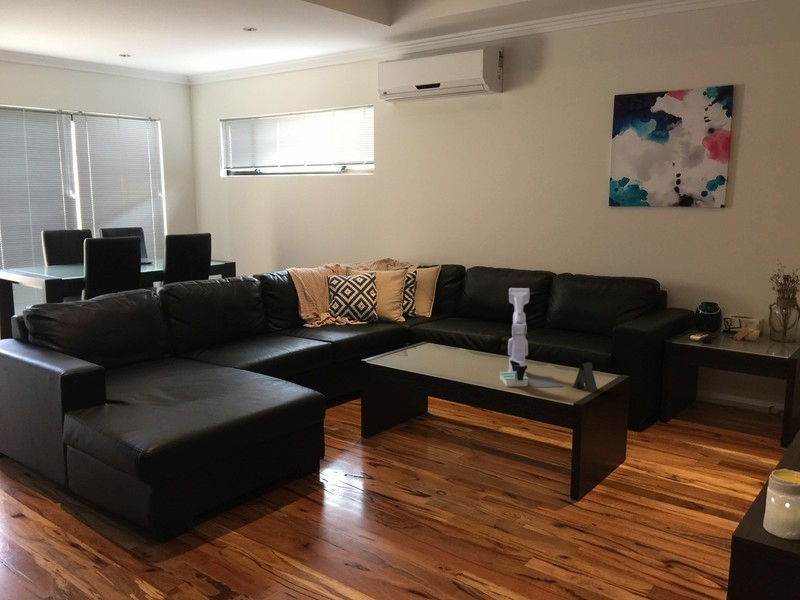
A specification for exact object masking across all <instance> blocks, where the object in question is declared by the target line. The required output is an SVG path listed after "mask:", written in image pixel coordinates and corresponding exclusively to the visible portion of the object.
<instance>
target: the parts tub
mask: <svg viewBox="0 0 800 600" xmlns="http://www.w3.org/2000/svg"><path fill="white" fill-rule="evenodd" d="M499 379H500V381H501V382H502V384H503V385H504V386H505V387H528V382H529V381H528V380H523V382H514V381H513V380H505V378H504V377H503V376H502V375H501V374H500V373H499Z"/></svg>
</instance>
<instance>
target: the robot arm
mask: <svg viewBox="0 0 800 600" xmlns="http://www.w3.org/2000/svg"><path fill="white" fill-rule="evenodd" d="M530 295H531V293H530V288H529V287H526V288H525V287H524V288H523V287H510V288H509V289H508V302H509V303H510V304H512V305H513V308H514V309H513V310H514V312H513V314H512V324H511V336H512V337H511V338H509V339H508V342H507V355H508V356H509V359H508V369H507V371H506V372H511V371H517V378H518V380H523V377H524V375H526V376H528V373H526V371H527V369H528V365H525V364H526V357H527V356H528V355H529V343H528V339H526V336H527V330H528V328H527V327H528V326H527V322H526V313H525V312H524V307H525V305H526V304H528V303H529V302H530Z"/></svg>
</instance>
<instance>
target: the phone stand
mask: <svg viewBox="0 0 800 600" xmlns="http://www.w3.org/2000/svg"><path fill="white" fill-rule="evenodd" d="M578 368H579V370H578V373H577V375H576V378H575V380H574V384H573V385H572V388H573V389H575V390H579V391H583V392H587V391H588V393H591V392H593V390H594V391H596V390H595V389H597V390H598V386H597V383H596V380H595V376H594V371H593V363H592V362H589V361H588V362H584V363H581V364H579V366H578ZM590 391H591V392H590Z"/></svg>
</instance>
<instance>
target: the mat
mask: <svg viewBox="0 0 800 600" xmlns="http://www.w3.org/2000/svg"><path fill="white" fill-rule="evenodd" d="M526 377H527V378H528V382H529V383H530V384H531V385H533V387H535V388H536V389H538V388H541V389H542V388H563V387H564V385H562V384H561V383H560V382H559V381H557V380H556V379H555V378H554V377H553V376H549V375H548V376H526Z"/></svg>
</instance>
